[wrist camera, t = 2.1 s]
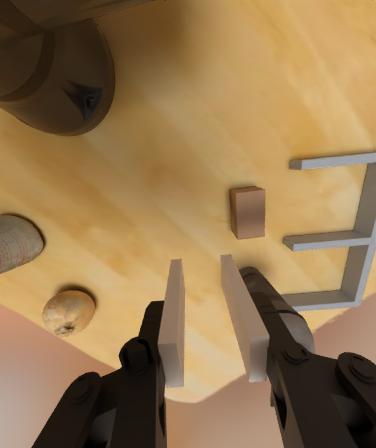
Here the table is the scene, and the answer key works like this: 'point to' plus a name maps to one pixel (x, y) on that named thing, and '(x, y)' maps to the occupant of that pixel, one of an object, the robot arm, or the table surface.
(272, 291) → the beverage cup
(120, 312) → the table surface
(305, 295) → the slot rack
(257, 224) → the walnut bar
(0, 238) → the bottle
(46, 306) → the onion
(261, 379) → the robot arm
